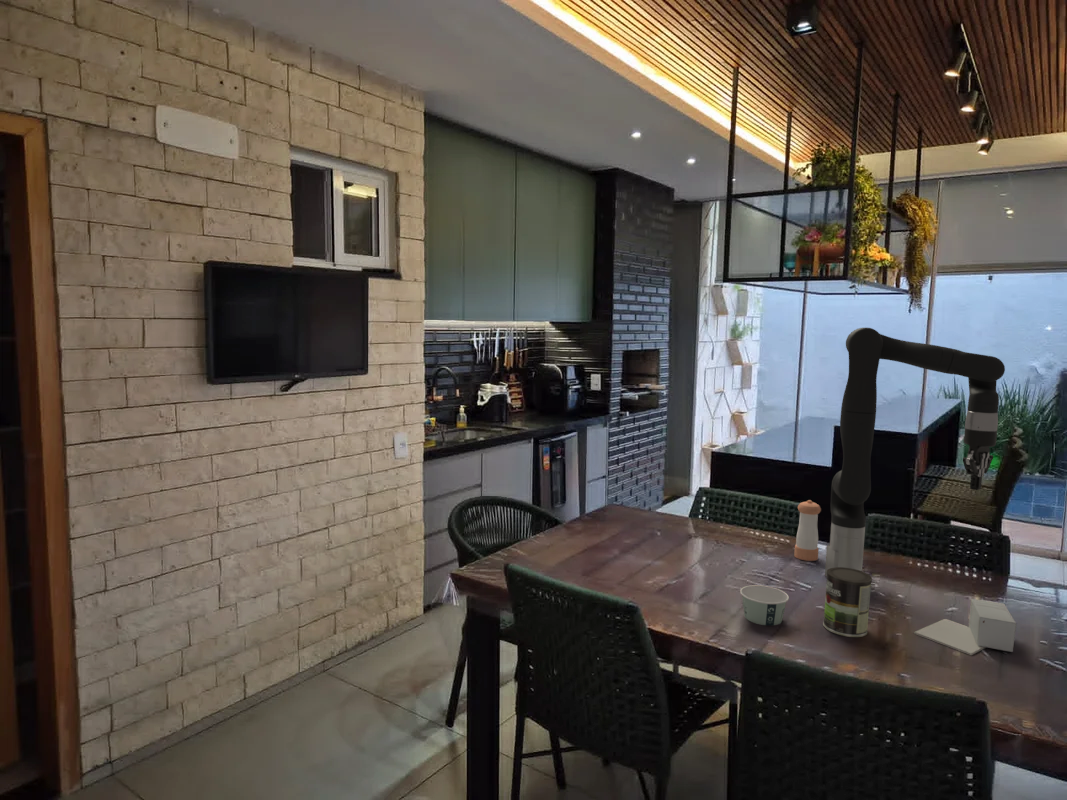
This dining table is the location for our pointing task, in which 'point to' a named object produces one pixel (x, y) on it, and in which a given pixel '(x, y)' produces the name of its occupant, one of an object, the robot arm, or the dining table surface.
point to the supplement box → (992, 625)
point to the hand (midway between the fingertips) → (975, 489)
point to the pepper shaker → (807, 532)
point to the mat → (951, 636)
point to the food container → (763, 604)
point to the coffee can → (847, 601)
